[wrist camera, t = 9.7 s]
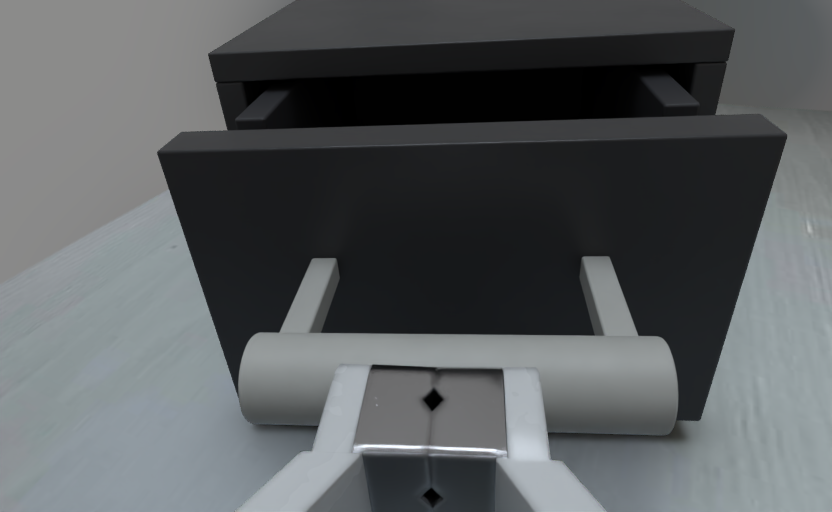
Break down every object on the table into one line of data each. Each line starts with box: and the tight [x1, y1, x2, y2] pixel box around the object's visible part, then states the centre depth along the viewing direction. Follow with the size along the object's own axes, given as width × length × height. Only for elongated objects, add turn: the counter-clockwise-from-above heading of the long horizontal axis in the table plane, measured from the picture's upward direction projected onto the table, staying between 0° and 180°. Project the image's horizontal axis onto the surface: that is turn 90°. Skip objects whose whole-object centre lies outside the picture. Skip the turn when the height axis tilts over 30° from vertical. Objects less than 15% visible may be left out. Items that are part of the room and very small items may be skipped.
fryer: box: [208, 0, 735, 130], centre depth 23 cm, size 15×14×10 cm
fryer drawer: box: [157, 64, 787, 435], centre depth 17 cm, size 18×12×8 cm
